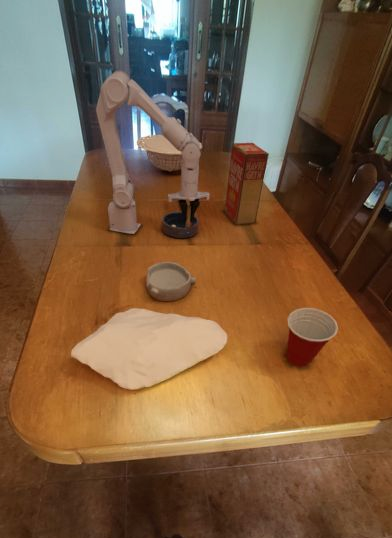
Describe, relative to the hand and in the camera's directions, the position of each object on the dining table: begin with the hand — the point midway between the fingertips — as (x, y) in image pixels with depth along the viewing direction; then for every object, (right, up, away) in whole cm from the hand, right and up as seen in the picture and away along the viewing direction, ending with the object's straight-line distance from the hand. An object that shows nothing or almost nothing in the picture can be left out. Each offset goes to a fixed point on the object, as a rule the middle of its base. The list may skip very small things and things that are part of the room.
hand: (187, 220), depth 116 cm
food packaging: (+21, +7, +15) cm, 27 cm away
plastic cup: (+28, -50, -38) cm, 68 cm away
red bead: (+1, -1, +3) cm, 3 cm away
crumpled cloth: (-7, -48, -40) cm, 63 cm away
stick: (0, -2, +2) cm, 3 cm away
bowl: (-3, -3, +3) cm, 5 cm away
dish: (-5, -29, -22) cm, 37 cm away
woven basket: (-10, +43, +46) cm, 63 cm away
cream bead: (-5, -3, +1) cm, 6 cm away
